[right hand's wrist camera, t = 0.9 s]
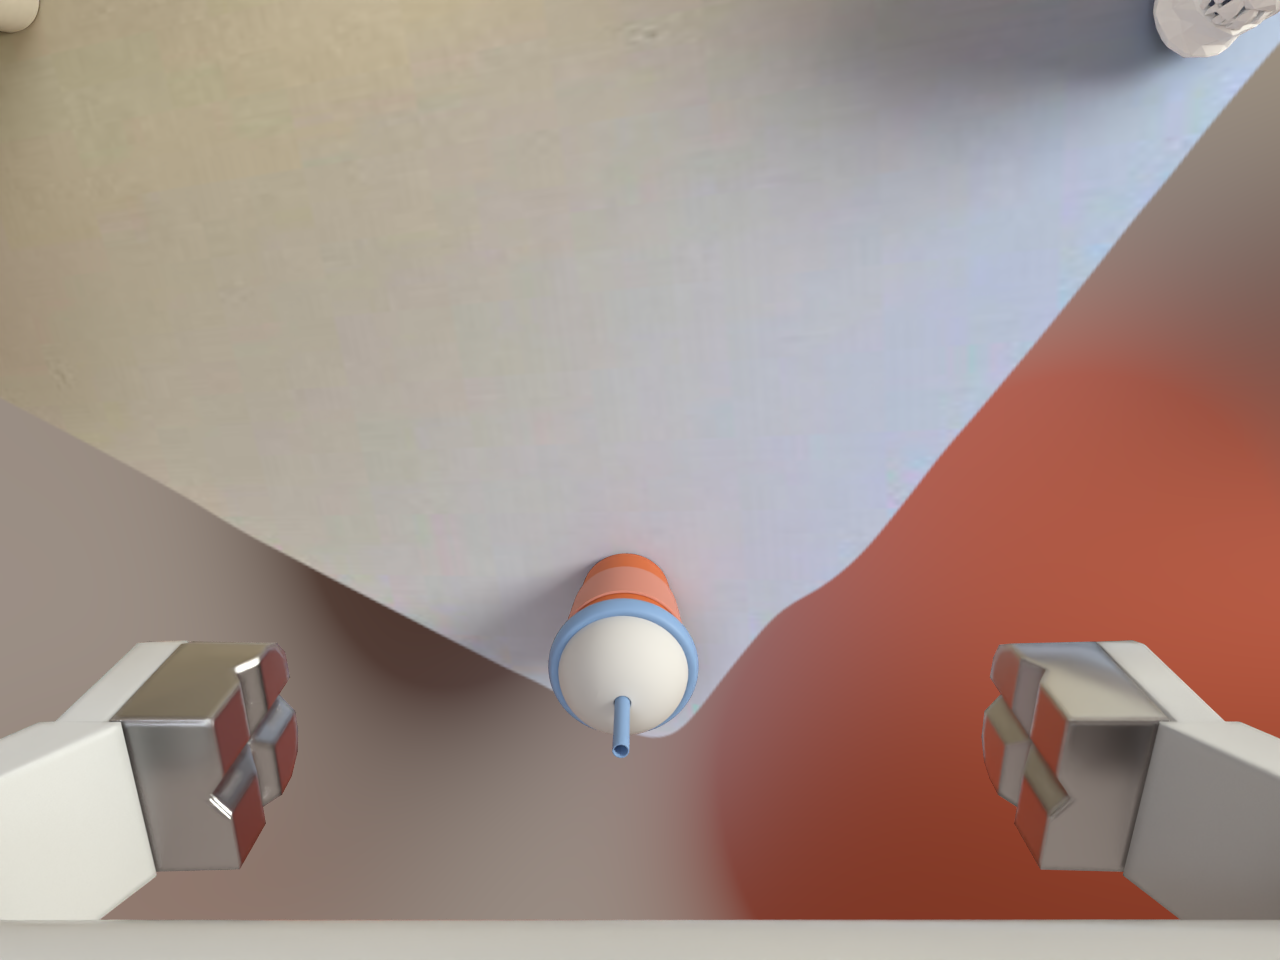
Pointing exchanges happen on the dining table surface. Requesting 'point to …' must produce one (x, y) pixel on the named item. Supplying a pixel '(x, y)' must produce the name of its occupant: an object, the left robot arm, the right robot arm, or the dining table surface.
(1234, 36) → the skull
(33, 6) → the bottle
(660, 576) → the cup with straw
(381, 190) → the dining table surface
